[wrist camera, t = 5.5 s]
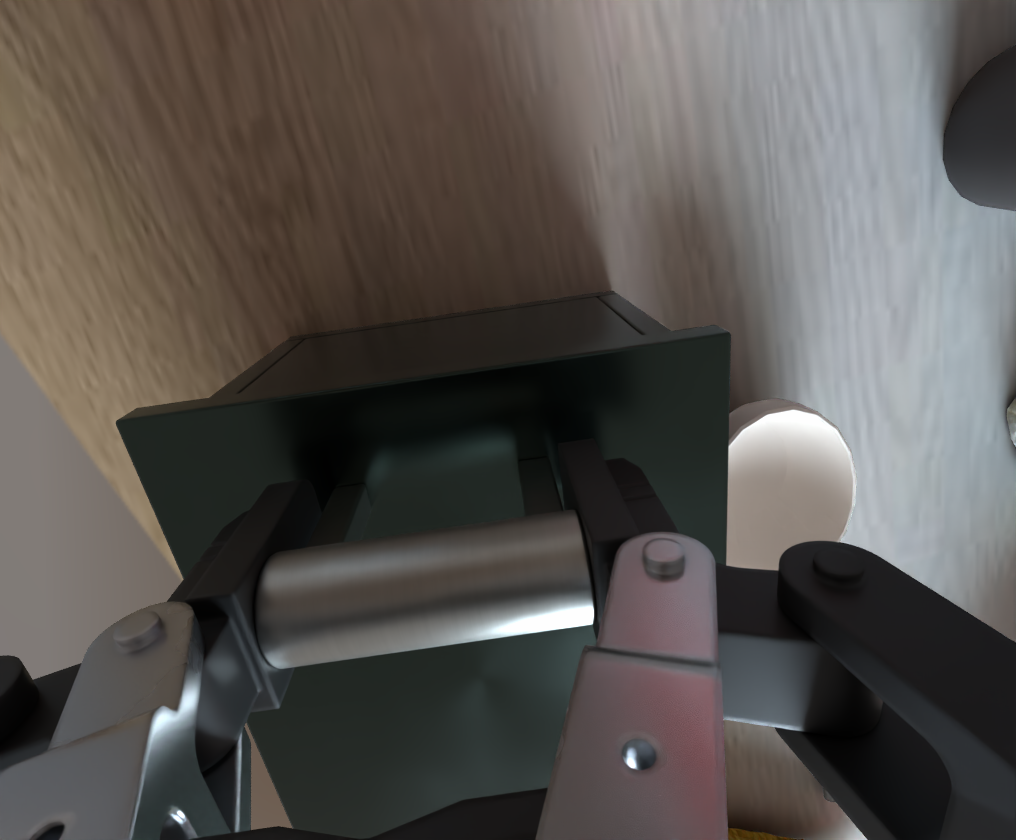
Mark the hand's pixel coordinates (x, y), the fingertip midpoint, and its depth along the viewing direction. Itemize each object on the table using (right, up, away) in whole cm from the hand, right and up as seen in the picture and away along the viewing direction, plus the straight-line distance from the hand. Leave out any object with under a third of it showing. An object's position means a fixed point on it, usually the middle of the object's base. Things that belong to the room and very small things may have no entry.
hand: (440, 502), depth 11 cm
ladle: (+15, -8, +17) cm, 24 cm away
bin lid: (+1, -5, +4) cm, 6 cm away
